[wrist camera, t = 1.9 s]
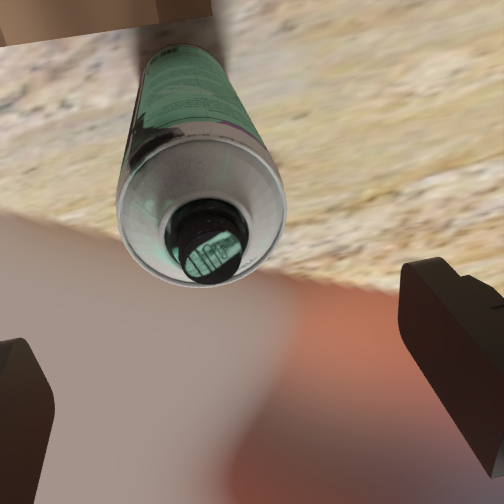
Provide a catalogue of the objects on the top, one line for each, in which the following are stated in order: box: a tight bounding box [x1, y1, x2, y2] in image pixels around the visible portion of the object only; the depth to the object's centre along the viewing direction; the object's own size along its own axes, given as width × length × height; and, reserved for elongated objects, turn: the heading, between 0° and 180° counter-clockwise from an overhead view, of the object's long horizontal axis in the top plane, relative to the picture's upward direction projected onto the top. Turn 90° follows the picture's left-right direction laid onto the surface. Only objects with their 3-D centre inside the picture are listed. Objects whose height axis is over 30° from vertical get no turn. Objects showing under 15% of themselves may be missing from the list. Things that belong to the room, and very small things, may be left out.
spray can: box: [115, 44, 287, 288], centre depth 21 cm, size 6×6×20 cm
